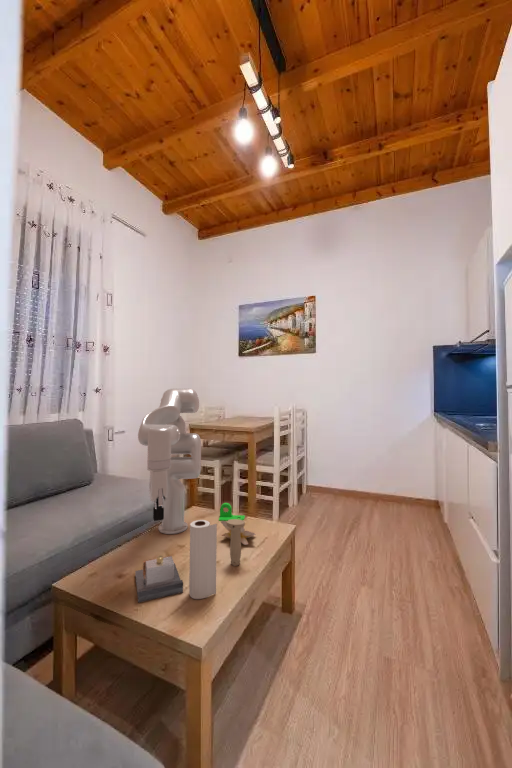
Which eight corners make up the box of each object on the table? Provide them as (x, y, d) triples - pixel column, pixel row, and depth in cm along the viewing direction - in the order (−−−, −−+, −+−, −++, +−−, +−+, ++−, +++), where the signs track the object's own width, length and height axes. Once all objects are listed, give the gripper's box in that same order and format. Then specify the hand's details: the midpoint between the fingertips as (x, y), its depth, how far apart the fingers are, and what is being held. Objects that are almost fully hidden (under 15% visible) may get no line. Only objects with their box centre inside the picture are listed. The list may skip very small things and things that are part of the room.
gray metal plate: (135, 575, 109) (135, 566, 109) (174, 567, 114) (174, 558, 114) (138, 602, 95) (138, 592, 95) (183, 592, 100) (183, 582, 100)
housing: (145, 583, 102) (145, 556, 102) (171, 578, 105) (171, 551, 105) (146, 592, 97) (147, 563, 98) (173, 586, 100) (174, 558, 101)
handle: (229, 559, 120) (229, 518, 120) (246, 562, 118) (246, 520, 119) (224, 566, 115) (225, 523, 116) (241, 568, 114) (242, 525, 114)
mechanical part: (218, 524, 154) (218, 506, 154) (220, 519, 160) (220, 502, 160) (243, 524, 153) (244, 507, 153) (244, 519, 159) (244, 503, 159)
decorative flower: (263, 540, 136) (263, 516, 136) (249, 551, 126) (249, 525, 126) (232, 532, 143) (233, 509, 144) (217, 543, 133) (218, 518, 134)
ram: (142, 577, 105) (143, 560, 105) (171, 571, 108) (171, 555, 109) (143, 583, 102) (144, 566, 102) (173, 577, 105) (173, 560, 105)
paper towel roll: (185, 594, 99) (185, 523, 99) (199, 585, 104) (200, 517, 104) (201, 604, 94) (202, 529, 95) (216, 594, 99) (216, 523, 100)
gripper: (145, 460, 115) (144, 513, 114) (149, 470, 101) (148, 530, 100) (167, 459, 117) (166, 510, 117) (174, 468, 104) (173, 526, 103)
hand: (158, 519), depth 109 cm, fingers closed
